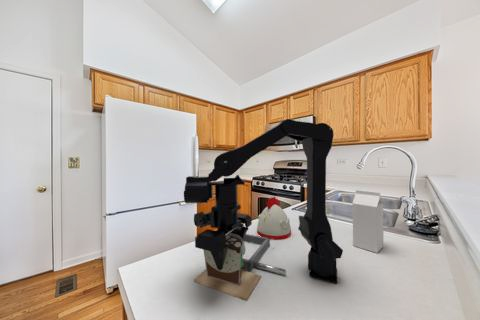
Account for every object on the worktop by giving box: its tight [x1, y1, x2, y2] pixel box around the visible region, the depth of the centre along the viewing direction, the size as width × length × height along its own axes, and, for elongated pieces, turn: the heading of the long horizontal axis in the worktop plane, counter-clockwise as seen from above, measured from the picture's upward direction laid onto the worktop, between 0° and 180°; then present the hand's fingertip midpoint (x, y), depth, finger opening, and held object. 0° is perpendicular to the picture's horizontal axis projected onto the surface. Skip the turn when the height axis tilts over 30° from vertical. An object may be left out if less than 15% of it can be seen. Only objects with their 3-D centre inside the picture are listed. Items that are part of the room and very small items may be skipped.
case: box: [242, 233, 271, 272], centre depth 61 cm, size 12×17×2 cm
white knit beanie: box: [256, 196, 292, 241], centre depth 77 cm, size 14×14×15 cm
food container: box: [203, 233, 247, 286], centre depth 49 cm, size 12×6×10 cm, turn 65°
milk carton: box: [352, 189, 385, 254], centre depth 64 cm, size 7×7×19 cm
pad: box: [193, 269, 262, 302], centre depth 48 cm, size 15×9×1 cm, turn 63°
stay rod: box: [253, 261, 287, 276], centre depth 52 cm, size 10×1×1 cm, turn 63°
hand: (227, 261), depth 48 cm, fingers open, 7 cm apart
